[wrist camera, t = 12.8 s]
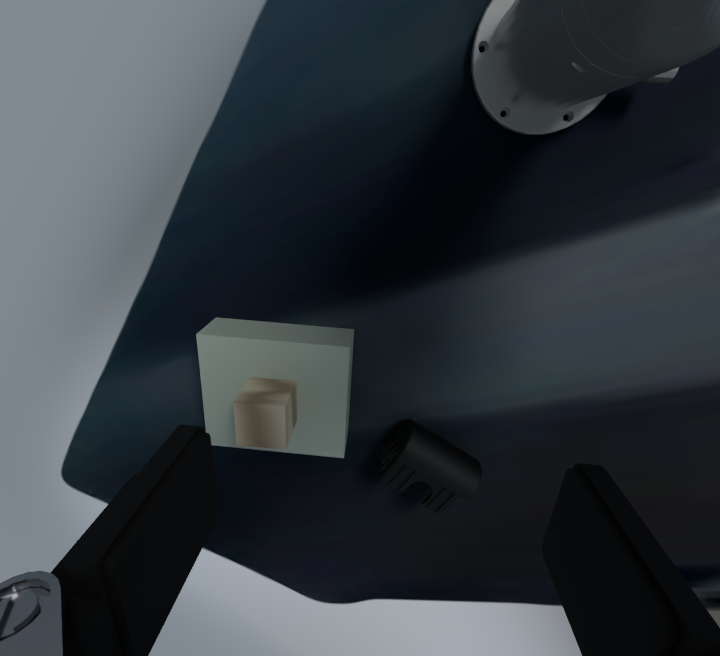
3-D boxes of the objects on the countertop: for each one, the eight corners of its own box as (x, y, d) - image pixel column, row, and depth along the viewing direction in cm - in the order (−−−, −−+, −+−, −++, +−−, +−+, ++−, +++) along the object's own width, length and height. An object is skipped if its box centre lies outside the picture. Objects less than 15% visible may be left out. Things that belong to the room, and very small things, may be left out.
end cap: (475, 445, 49) (487, 485, 43) (440, 481, 52) (447, 523, 46) (410, 405, 48) (413, 440, 42) (377, 444, 50) (376, 482, 44)
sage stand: (354, 329, 45) (350, 347, 40) (347, 431, 50) (343, 458, 45) (216, 317, 45) (196, 334, 41) (224, 419, 51) (207, 444, 46)
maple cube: (296, 380, 42) (284, 406, 37) (297, 420, 44) (286, 449, 39) (250, 377, 42) (233, 402, 38) (252, 416, 44) (236, 445, 39)
